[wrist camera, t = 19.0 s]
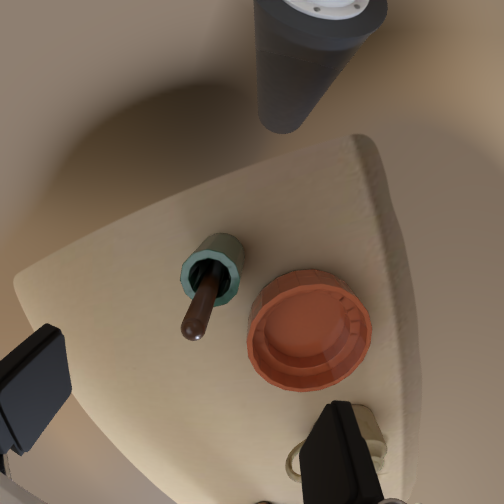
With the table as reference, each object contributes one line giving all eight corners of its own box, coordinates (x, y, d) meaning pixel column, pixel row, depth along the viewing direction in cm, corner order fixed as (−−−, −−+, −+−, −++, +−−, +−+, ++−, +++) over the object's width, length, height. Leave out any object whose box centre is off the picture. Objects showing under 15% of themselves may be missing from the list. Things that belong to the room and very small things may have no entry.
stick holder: (204, 228, 34) (185, 243, 25) (249, 238, 34) (245, 257, 26) (196, 270, 35) (176, 298, 27) (239, 281, 36) (232, 312, 27)
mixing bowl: (264, 255, 35) (265, 270, 29) (371, 281, 35) (389, 298, 29) (238, 354, 38) (235, 381, 32) (335, 370, 38) (344, 397, 33)
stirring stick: (214, 249, 34) (179, 321, 19) (229, 252, 34) (204, 328, 19) (211, 263, 35) (176, 342, 20) (226, 266, 35) (201, 348, 20)
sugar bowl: (305, 458, 44) (313, 522, 29) (280, 429, 42) (284, 502, 27) (379, 427, 42) (404, 489, 27) (364, 393, 40) (393, 463, 25)
